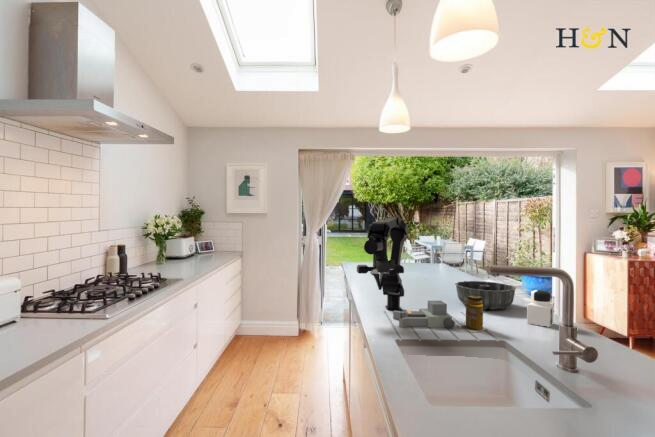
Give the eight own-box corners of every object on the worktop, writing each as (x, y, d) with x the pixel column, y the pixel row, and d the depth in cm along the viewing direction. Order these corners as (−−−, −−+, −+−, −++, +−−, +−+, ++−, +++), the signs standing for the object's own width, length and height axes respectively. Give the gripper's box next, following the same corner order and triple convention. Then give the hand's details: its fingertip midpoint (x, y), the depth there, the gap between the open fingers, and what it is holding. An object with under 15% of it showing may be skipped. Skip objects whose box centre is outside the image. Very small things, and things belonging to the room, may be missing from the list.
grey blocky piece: (391, 316, 145) (392, 297, 145) (440, 317, 145) (440, 298, 145) (400, 328, 130) (400, 307, 130) (454, 328, 130) (454, 307, 130)
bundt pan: (447, 299, 179) (448, 279, 179) (499, 300, 178) (499, 280, 178) (466, 312, 153) (466, 290, 153) (527, 314, 152) (527, 291, 152)
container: (553, 323, 138) (554, 291, 138) (549, 328, 132) (549, 294, 132) (531, 319, 143) (532, 288, 143) (526, 323, 137) (527, 290, 137)
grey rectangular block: (404, 321, 140) (404, 310, 140) (421, 321, 140) (421, 310, 140) (407, 324, 135) (407, 313, 135) (425, 324, 135) (425, 313, 135)
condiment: (487, 329, 130) (488, 297, 130) (474, 333, 125) (474, 300, 125) (470, 324, 136) (470, 293, 136) (457, 327, 132) (457, 296, 132)
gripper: (360, 254, 134) (360, 294, 134) (408, 254, 135) (407, 294, 135) (356, 251, 145) (356, 288, 145) (400, 251, 146) (400, 287, 146)
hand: (379, 289), depth 143 cm, fingers closed
